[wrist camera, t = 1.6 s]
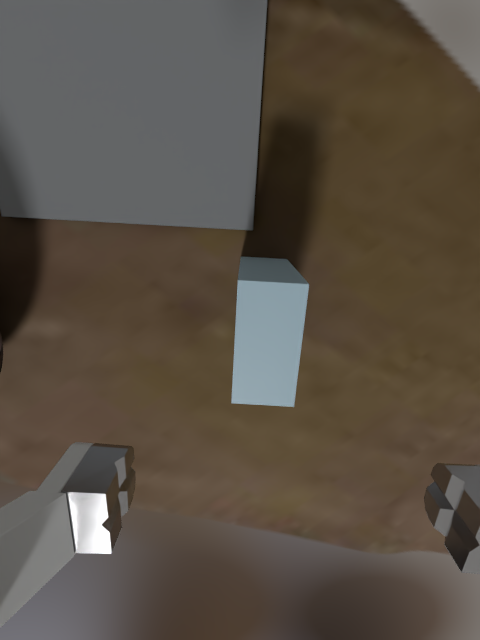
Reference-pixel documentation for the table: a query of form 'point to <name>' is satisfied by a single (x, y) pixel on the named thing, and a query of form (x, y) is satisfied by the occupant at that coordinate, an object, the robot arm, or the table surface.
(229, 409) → the table surface
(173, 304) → the table surface
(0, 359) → the wooden sphere
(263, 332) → the block
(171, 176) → the mat
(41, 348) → the table surface
